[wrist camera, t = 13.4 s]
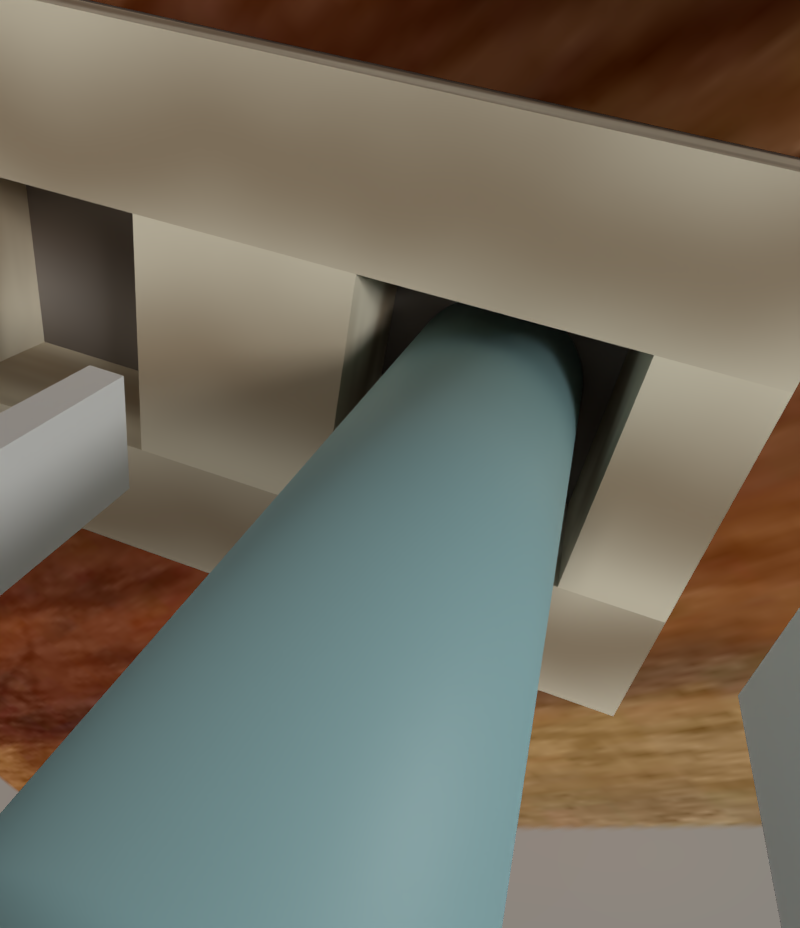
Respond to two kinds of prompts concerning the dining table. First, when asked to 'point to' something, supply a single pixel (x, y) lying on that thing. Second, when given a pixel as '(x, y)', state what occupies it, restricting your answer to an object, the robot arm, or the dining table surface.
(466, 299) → the hole block
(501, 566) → the pin
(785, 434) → the dining table surface
